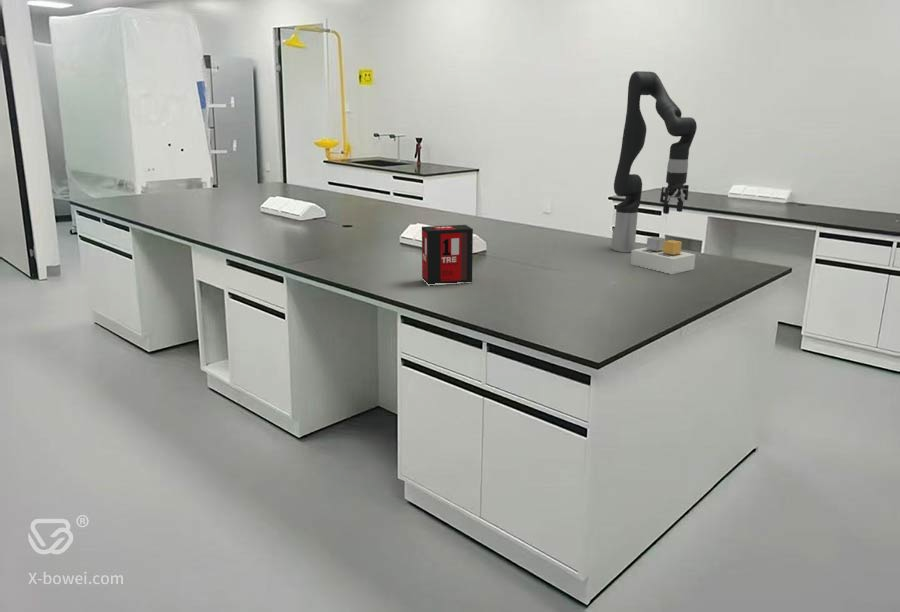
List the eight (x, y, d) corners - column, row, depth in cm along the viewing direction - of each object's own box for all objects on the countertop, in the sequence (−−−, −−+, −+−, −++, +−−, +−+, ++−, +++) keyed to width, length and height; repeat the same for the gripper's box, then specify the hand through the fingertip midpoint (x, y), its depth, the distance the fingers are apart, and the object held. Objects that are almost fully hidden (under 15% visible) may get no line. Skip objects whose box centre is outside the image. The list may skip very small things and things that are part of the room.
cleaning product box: (465, 277, 256) (465, 224, 250) (472, 283, 248) (472, 228, 242) (422, 280, 252) (421, 226, 246) (427, 286, 244) (427, 231, 238)
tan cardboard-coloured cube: (662, 252, 268) (663, 241, 267) (670, 251, 271) (671, 239, 270) (672, 254, 265) (673, 243, 263) (680, 253, 267) (681, 241, 266)
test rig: (630, 264, 277) (631, 249, 275) (652, 260, 285) (654, 245, 283) (671, 274, 261) (673, 258, 259) (693, 269, 269) (695, 254, 267)
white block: (646, 248, 275) (647, 237, 273) (654, 247, 277) (655, 236, 276) (656, 251, 271) (657, 239, 270) (663, 249, 274) (664, 238, 272)
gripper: (680, 168, 270) (675, 209, 275) (657, 171, 262) (653, 212, 267) (696, 170, 265) (691, 212, 270) (674, 173, 256) (669, 215, 261)
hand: (672, 212), depth 268 cm, fingers open, 8 cm apart
